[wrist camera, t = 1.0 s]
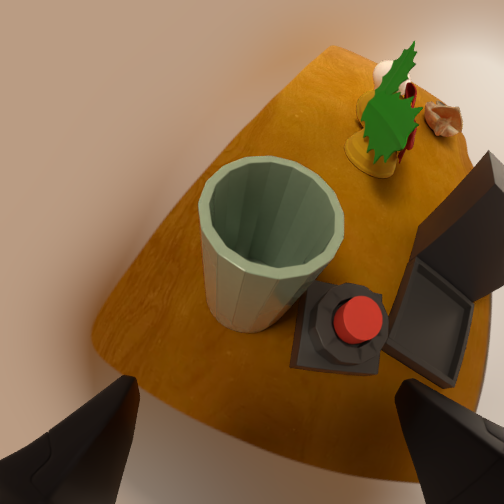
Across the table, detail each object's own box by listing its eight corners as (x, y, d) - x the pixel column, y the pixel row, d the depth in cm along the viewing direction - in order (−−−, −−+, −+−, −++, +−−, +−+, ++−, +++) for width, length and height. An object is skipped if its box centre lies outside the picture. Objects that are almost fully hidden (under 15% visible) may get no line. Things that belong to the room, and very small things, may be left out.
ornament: (372, 218, 35) (463, 195, 21) (322, 188, 33) (411, 144, 19) (391, 113, 38) (453, 74, 24) (352, 84, 36) (411, 34, 22)
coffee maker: (442, 389, 20) (557, 361, 8) (375, 346, 22) (501, 292, 10) (470, 269, 28) (545, 212, 15) (417, 225, 29) (488, 147, 17)
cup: (280, 340, 22) (342, 292, 11) (196, 322, 21) (178, 256, 11) (291, 265, 25) (343, 174, 14) (216, 248, 25) (220, 145, 14)
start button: (369, 346, 18) (381, 342, 17) (331, 341, 18) (341, 337, 17) (371, 306, 20) (383, 299, 18) (335, 299, 20) (344, 291, 18)
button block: (365, 376, 21) (390, 372, 17) (289, 367, 21) (303, 363, 17) (370, 301, 24) (393, 286, 21) (300, 287, 24) (315, 269, 20)
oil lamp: (413, 133, 40) (438, 92, 31) (423, 101, 49) (440, 71, 40) (450, 161, 38) (478, 124, 29) (452, 122, 47) (470, 93, 38)
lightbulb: (364, 99, 42) (387, 52, 32) (393, 119, 41) (419, 73, 31) (351, 106, 39) (376, 54, 30) (383, 128, 38) (413, 77, 28)
